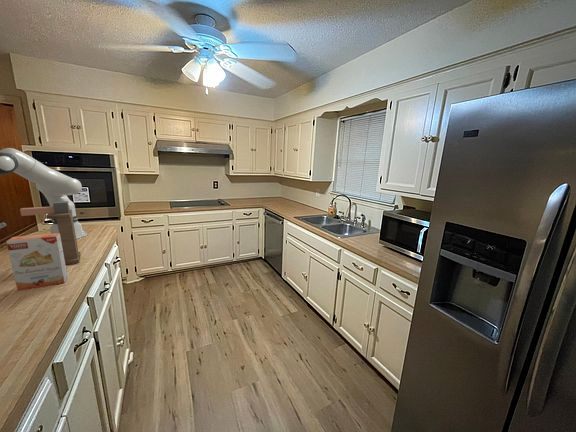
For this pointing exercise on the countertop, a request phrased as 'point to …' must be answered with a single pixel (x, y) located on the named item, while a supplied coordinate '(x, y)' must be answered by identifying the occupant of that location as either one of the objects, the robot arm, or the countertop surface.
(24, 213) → the terracotta bar
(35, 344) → the countertop surface
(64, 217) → the walnut stand
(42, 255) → the cracker box
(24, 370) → the countertop surface
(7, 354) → the countertop surface
